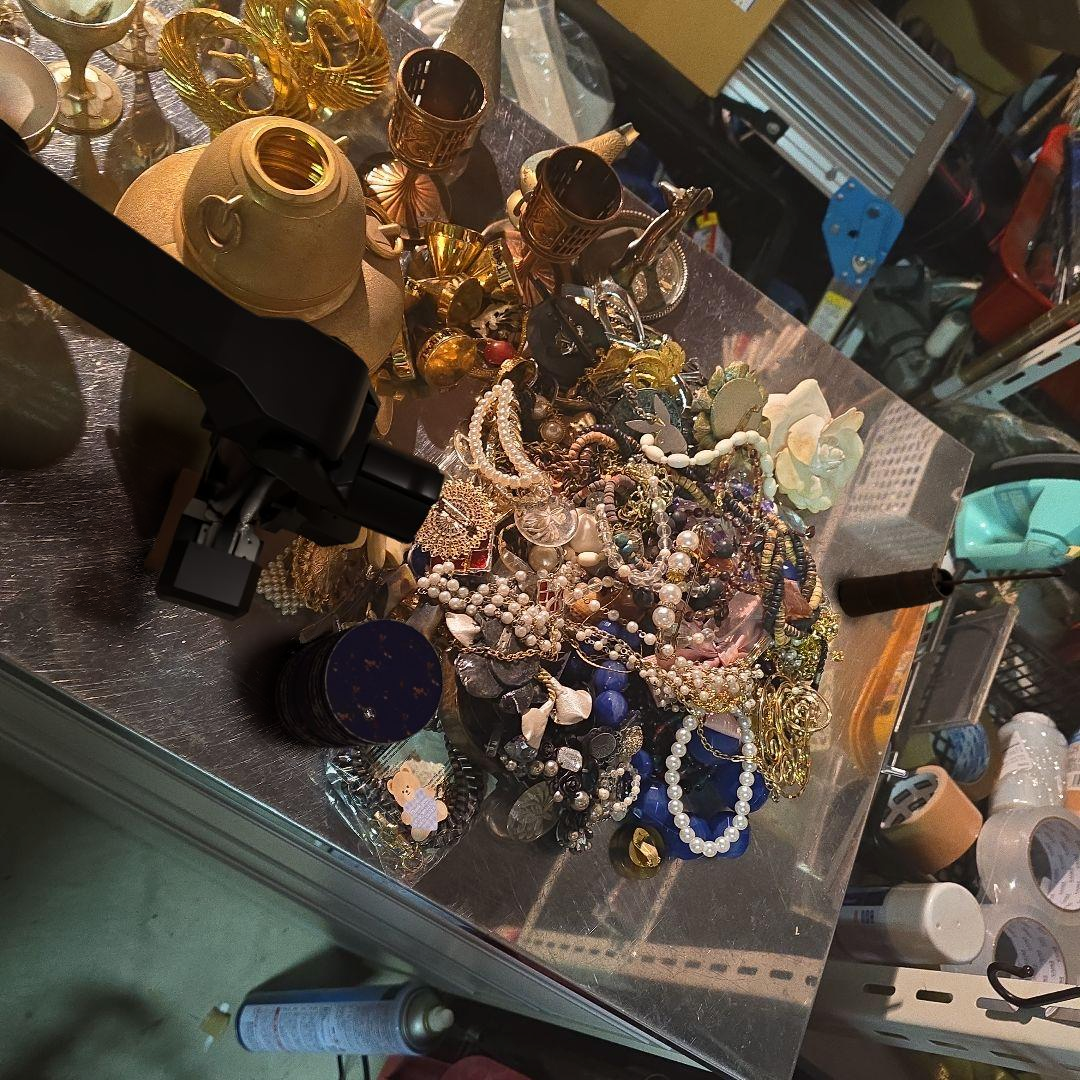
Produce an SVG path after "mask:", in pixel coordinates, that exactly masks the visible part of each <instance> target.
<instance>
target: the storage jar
mask: <svg viewBox="0 0 1080 1080" xmlns="http://www.w3.org/2000/svg"><path fill="white" fill-rule="evenodd" d="M444 682H445V681H444V671H443V667H442V663H441V660H440V655H439V654H438V652H437V650H436V649H435V646H434V645H433V643H432V642H431V641H430V639H428V637H427V636H426V635H425V634H424V633H422V631H420V630H419V629H417V628H416V627H415V626H413V625H411V624H408V623H407V622H404V621H401V620H398V619H392V618H376V619H372V620H371V619H370V620H367V621H364V622H360V623H357V624H354V625H352V626H349V627H346V628H344V629H341V630H339V631H337V632H335V633H334V634H332V635H328V636H325V637H322V638H319V639H317V640H314V641H313V642H311V643H310V644H308V645H306V646H304V647H302V648H301V649H299V650H298V651H296V652H295V653H294V654H293V655H292V656H291V657H290V658H289V659H288V660H287V662H285V664H284V666H283V667H282V669H281V671H280V673H279V676H278V679H277V681H276V687H275V704H276V710H277V713H278V716H279V718H280V720H281V722H282V724H283V725H284V727H285V728H286V729H287V730H288V732H289V733H290V734H291V735H292V736H293V737H294V738H296V739H297V740H299V741H300V742H302V743H304V744H306V745H309V746H312V747H316V748H321V749H322V748H323V749H334V750H336V749H338V750H339V749H351V748H371V747H381V746H387V745H391V744H397V743H401V742H404V741H407V740H409V739H411V738H413V737H414V736H415V735H417V734H419V733H420V732H421V731H422V730H424V728H426V727H427V726H428V724H429V723H430V722H431V721H432V720H433V718H434V716H435V715H436V713H437V711H438V709H439V706H440V704H441V702H442V697H443V694H444ZM367 709H368V710H369V709H372V710H373V711H374V713H375V715H374V717H373V718H372V719H367V718H366V717H365V714H364V713H366V712H367ZM369 711H370V710H369ZM367 713H368V712H367Z"/></svg>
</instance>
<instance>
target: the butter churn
mask: <svg viewBox="0 0 1080 1080" xmlns="http://www.w3.org/2000/svg"><path fill="white" fill-rule="evenodd" d="M1064 575H1065V574H1064V572H1036V573H1023V574H1015V575H1006V576H1005V575H1004V576H992V577H991V576H990V577H981V578H969V579H967V578H966V579H960V580H959V579H958V580H957V579H956V580H955V578H954V576H953V575H952V573H951V572H950V571H949V570H947V569H946V568H941V567H939V566H938V563H937V562H934V563H933V564H932V565H931V567H929V568H924V569H914V570H903V571H898V572H895V573H888V574H881V575H878V574H877V575H871V576H861V577H850V578H846V579H844V580H843V581H842V582H841V583H840V584H839V587H840V589H839V597H840V607H842V610H843V612H844V613H845V614H846V616H849V617H851V618H861V617H865V616H871V615H875V614H882V613H883V614H884V613H887V612H890V611H896V610H901V609H909V608H910V609H912V608H913V609H914V608H915V607H920V606H921V607H922V606H925V605H929V604H934V603H938V602H942V601H944V600H947V599H950V597H952V596H953V597H954V594H955V591H956V588H957V587H956V586H958V585H960V586H961V585H962V584H966V585H972V584H984V583H985V584H986V583H994V582H1009V581H1022V580H1023V581H1024V580H1035V579H1038V580H1039V579H1048V578H1049V579H1050V578H1058V577H1059V578H1061V577H1063V576H1064Z"/></svg>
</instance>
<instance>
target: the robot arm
mask: <svg viewBox="0 0 1080 1080" xmlns="http://www.w3.org/2000/svg"><path fill="white" fill-rule="evenodd" d="M0 270H1V271H3V272H5V273H6V274H8V275H9V276H11V277H13V278H14V279H15V280H17V281H18V282H21V283H22V284H24V285H26V286H27V287H29V288H30V289H32V290H34V291H35V292H37V293H39V294H41V295H42V296H43V297H45V298H46V299H48V300H50V301H52V302H53V303H55V304H57V305H58V306H60V307H62V308H64V309H65V310H67V311H68V312H70V313H71V314H73V315H75V316H77V317H78V318H80V319H81V320H83V321H85V322H86V323H88V324H90V325H91V326H93V327H94V328H96V329H98V330H99V331H101V332H103V333H104V334H106V335H108V336H109V337H111V338H113V339H114V340H116V341H117V342H118V343H120V344H122V345H124V346H125V347H127V348H129V349H130V350H132V351H133V352H135V353H137V354H138V355H140V356H142V357H143V358H145V359H147V360H148V361H150V362H152V363H153V364H155V365H157V366H158V367H160V368H161V369H163V370H164V371H167V372H168V373H170V374H171V375H173V376H175V377H176V378H178V379H180V380H181V381H182V382H184V383H185V384H186V385H188V386H189V387H190V388H192V389H193V390H195V391H196V392H197V394H198V396H199V397H200V399H201V401H202V403H203V405H204V407H205V409H204V412H203V414H202V416H201V419H200V420H199V426H200V428H201V429H203V430H205V431H208V432H210V436H209V439H208V443H209V446H210V451H209V452H208V456H207V459H206V461H205V464H204V467H203V470H202V471H201V474H202V475H201V478H200V480H199V483H198V486H197V489H196V491H195V494H194V497H193V498H195V499H198V500H201V501H203V502H206V503H208V504H207V507H206V510H205V512H204V517H205V518H206V519H209V520H212V521H213V522H212V523H210V522H207V521H204V520H201V519H198V518H195V517H192V516H189V515H186V514H183V513H182V515H181V517H180V520H179V523H178V526H177V528H176V531H175V534H174V536H173V539H172V542H171V544H170V547H169V549H168V551H167V553H166V556H165V559H164V561H163V564H162V567H161V570H160V572H158V576H157V578H156V580H155V583H154V586H153V591H154V594H155V595H156V597H157V599H158V600H159V601H163V602H167V603H171V604H174V605H176V606H179V607H183V608H186V609H190V610H193V611H197V612H201V613H203V614H206V615H210V616H212V617H217V618H220V619H223V620H226V621H230V622H234V621H237V620H238V619H240V618H242V617H244V616H246V615H247V614H248V613H249V612H250V609H251V606H252V602H253V600H254V596H255V593H256V590H257V587H258V584H259V581H260V578H261V575H262V572H263V569H264V568H263V567H262V566H261V565H259V564H258V563H259V560H260V557H261V553H262V551H263V548H264V544H265V541H264V540H262V539H259V537H258V535H256V533H255V529H256V526H257V523H258V522H259V525H258V529H260V530H263V531H266V532H268V533H271V534H274V535H276V534H277V533H279V532H280V531H281V530H284V531H287V532H291V533H292V534H296V535H298V536H300V537H302V538H303V539H306V540H308V541H309V542H312V543H314V544H315V545H316V546H318V547H320V548H329V547H336V546H337V547H338V546H342V545H351V544H354V543H355V542H357V540H358V539H359V536H360V533H361V529H362V528H365V529H367V530H369V531H371V532H374V533H377V534H380V535H382V536H385V537H386V538H389V539H392V540H394V541H397V542H399V543H401V544H404V545H410V544H412V543H414V541H415V540H416V537H417V534H418V533H419V531H420V529H421V528H422V527H423V525H424V523H425V522H426V519H427V518H428V515H429V513H430V511H431V509H432V507H433V506H434V505H436V504H438V503H439V500H440V497H441V494H442V491H443V487H444V483H445V481H446V480H445V479H446V476H445V474H444V473H441V471H440V467H439V466H438V464H436V463H433V462H431V461H429V460H427V459H425V458H422V457H420V456H418V455H416V454H413V453H411V452H409V451H407V450H404V449H403V448H401V447H398V446H396V445H394V444H391V443H389V442H387V441H385V440H383V439H381V438H378V437H376V436H374V435H372V433H373V431H374V427H375V425H376V421H377V418H378V416H379V412H380V409H381V407H382V402H381V400H380V398H379V396H378V394H377V392H376V391H375V388H374V386H373V384H372V380H371V378H370V375H369V373H370V370H371V369H370V366H368V365H367V363H366V362H365V360H364V359H363V358H362V357H361V356H360V355H359V354H358V353H357V352H355V350H354V348H353V347H351V346H350V345H349V344H348V343H346V342H345V341H343V340H341V338H340V337H338V336H336V335H330V334H328V333H325V332H324V331H323V330H320V329H319V328H317V327H316V326H314V325H312V324H311V323H309V322H307V321H306V320H304V319H302V318H298V317H288V316H287V317H286V316H274V315H273V316H272V315H259V314H257V313H256V312H254V311H253V310H251V309H249V308H247V307H245V305H242V304H240V303H239V302H238V301H236V300H235V299H233V298H232V297H230V296H229V295H228V294H226V293H225V292H223V291H222V290H220V289H219V288H218V287H216V285H213V284H212V283H211V282H210V281H208V280H207V279H205V278H204V277H202V276H201V275H200V274H198V273H197V272H195V271H194V270H192V269H191V268H190V267H189V266H187V265H186V264H184V263H183V262H181V261H180V260H179V259H177V258H176V257H174V256H173V255H172V254H170V253H169V252H167V251H165V249H163V248H161V246H159V245H157V244H156V243H155V242H153V241H152V240H150V239H148V237H146V236H145V235H143V234H142V233H140V232H139V231H138V230H136V229H135V228H133V227H132V226H131V225H129V224H128V223H126V222H125V221H124V220H122V219H121V218H120V217H118V216H117V215H116V214H114V213H113V212H111V211H110V210H108V209H107V208H106V207H104V206H102V205H101V204H100V203H98V202H97V201H96V200H94V199H93V198H91V197H90V196H89V195H87V194H86V193H84V192H83V191H81V190H80V189H79V188H77V187H76V186H75V185H73V184H72V183H70V182H69V181H67V180H66V179H65V178H64V177H62V176H60V175H59V174H57V173H56V172H54V171H53V170H52V169H50V168H49V167H48V166H46V165H45V164H43V163H42V162H41V161H39V160H38V159H36V158H35V157H33V156H32V154H31V151H30V148H29V145H28V144H27V143H26V141H25V140H24V139H23V137H22V136H21V135H20V133H19V132H18V131H16V130H15V129H14V128H13V127H12V126H11V125H10V124H9V123H8V122H7V121H5V120H4V119H2V118H0ZM220 514H222V515H223V517H222V520H221V522H218V519H219V518H217V517H216V516H220ZM239 521H241V522H244V523H240V526H241V527H242V528H239V529H238V528H237V526H238V523H239ZM256 522H257V523H256ZM255 525H256V526H255ZM254 528H255V529H254ZM240 532H241V533H240Z"/></svg>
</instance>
